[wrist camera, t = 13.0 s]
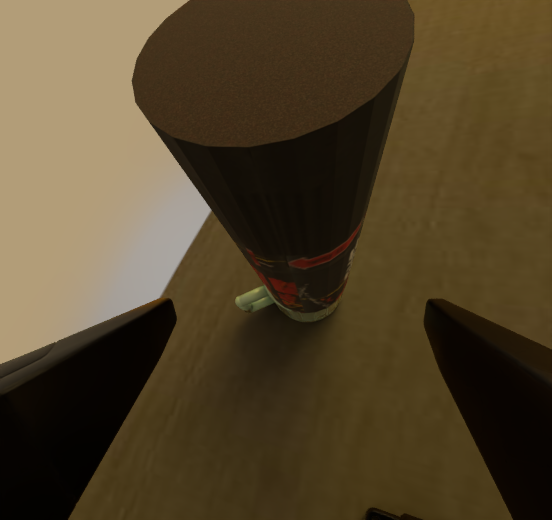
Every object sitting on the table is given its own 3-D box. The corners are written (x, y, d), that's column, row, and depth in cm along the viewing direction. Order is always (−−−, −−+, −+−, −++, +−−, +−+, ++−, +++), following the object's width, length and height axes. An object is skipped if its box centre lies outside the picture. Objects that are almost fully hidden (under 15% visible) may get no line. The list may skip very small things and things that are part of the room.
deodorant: (268, 237, 21) (164, -11, 7) (345, 235, 20) (397, -59, 6) (263, 312, 19) (96, 160, 5) (349, 314, 18) (441, 130, 4)
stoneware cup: (323, 245, 25) (323, 221, 21) (355, 305, 22) (362, 291, 18) (237, 282, 25) (220, 265, 21) (259, 346, 22) (244, 341, 18)
